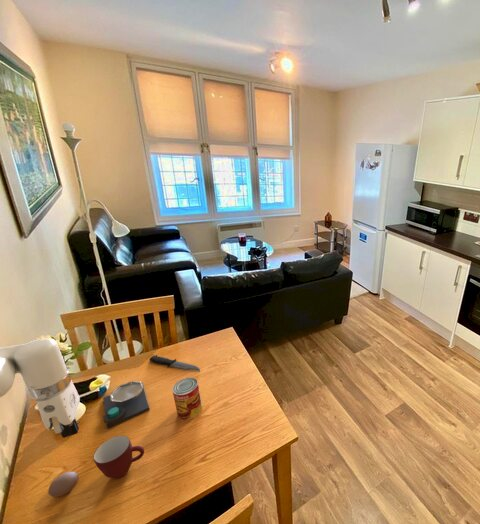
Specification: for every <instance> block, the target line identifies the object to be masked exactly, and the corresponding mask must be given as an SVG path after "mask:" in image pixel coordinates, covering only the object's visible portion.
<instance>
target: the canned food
mask: <svg viewBox="0 0 480 524" xmlns="http://www.w3.org/2000/svg"><path fill="white" fill-rule="evenodd" d="M171 391H172V395H173V400H174V404H175V409H176V414H177V417H178V418H179V420H181V421H189V420H192V419H194V418H196V417H197V416H198V415H199V414H200V413H201V412H202V410H203V402H202V396H201V391H200V386H199V381H198V379H197V378H195V377H190V376H189V377H185V378H182V379H180V380H178V381H176V382H175V383H174V385H173V386H172V389H171Z"/></svg>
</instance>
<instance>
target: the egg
mask: <svg viewBox="0 0 480 524" xmlns="http://www.w3.org/2000/svg"><path fill="white" fill-rule="evenodd" d="M78 482H79V474H78V473H77V471H66V472H64V473H62V474H60V475H58V476H56V478H55V479H53V481H52V482H51V483H50V484H49V487H48V489H47V490H48V494H49V496H51V497H54V498H59V497H63V496H64V495H66V494H68V493H70V492H71V491H72V490H73V489H74V488H75V487H76V485H77V484H78Z"/></svg>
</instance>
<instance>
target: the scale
mask: <svg viewBox="0 0 480 524" xmlns="http://www.w3.org/2000/svg"><path fill="white" fill-rule="evenodd" d="M141 383H142V386H143V391H142V392H141V393H140V394H139V395H138V396H137V397H136V398H135V399H133V400H131V401H128V402H125V403H122V404H120V403H112V402H111V399H110V394H109V395H106V396H104V397H103V405H104V406H103V407H104V415H103V422H104V424H105V425H106V429H107V430H109V429H111V428H113V427H115V426H118V425H120V424H123V423H124V422H126V421H129V420H131V419H133V418H136V417H138V416H140V415H142V414H144V413H146V412H149V411H151V410H150V409H151V408H150V404H149V401H148V397H147V393H146V391H145V387H144V383H143V382H141ZM115 407H117V408H118V409H119V415H117V416H116V417H114V418H110V417H109V415H108V411H109V410H110V409H112V408H115Z"/></svg>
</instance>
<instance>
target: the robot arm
mask: <svg viewBox="0 0 480 524" xmlns="http://www.w3.org/2000/svg"><path fill="white" fill-rule="evenodd" d="M16 374H20V375H21V378H22V380H23V382H24V384H25V386H26V388H27V391H28V392H29V395H30V397H31V399H33V400H36V401H35V402H36V404H37V405H36V406H37V409H38V412H39V415H40V418H41V420H42V423H43V425H44V427H45V428H46V429H47V430H48V431H51V430H52V429H53V430H54V434H55V435H59V434H60V435H61V437H62V438H63V439H64V438H68V437H70V436H74V435H77V434H78V433H79V429H80V427H79V424H78V422H77V420H76V419H77V418H76V414H77V411H78V408H79V406H80V401H81V397H80V395H79V393H78V390H77V389H76V386H75V384H74V382H73V380H72V378H71V376H70V372H69V370H68V368H67V365H66V362H65V359H64V357H63V355H62V352H61V349H60V347H59V344H58V343H57V341H55V339H52V338H39V339H34V340H30V341H29V342H26V343H23V344H17V345H16V344H15V345H9V346H1V347H0V399H1V398H2V397H4V396H6V394H8V392H9V391H10V390H11V389H12V387H13V385H14V383H15V378H16Z"/></svg>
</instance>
